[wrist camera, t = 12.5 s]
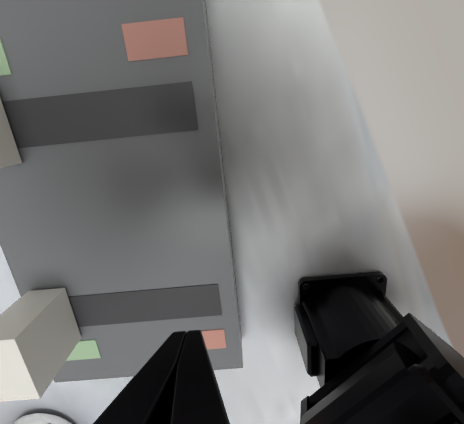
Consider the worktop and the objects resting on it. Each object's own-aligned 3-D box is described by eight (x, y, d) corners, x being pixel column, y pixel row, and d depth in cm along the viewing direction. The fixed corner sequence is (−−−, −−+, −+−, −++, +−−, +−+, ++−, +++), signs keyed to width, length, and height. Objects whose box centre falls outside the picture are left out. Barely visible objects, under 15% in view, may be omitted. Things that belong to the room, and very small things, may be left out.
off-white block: (64, 287, 18) (14, 339, 14) (81, 337, 19) (39, 398, 15) (28, 290, 18) (-33, 343, 14) (47, 340, 19) (-4, 401, 15)
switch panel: (204, -8, 16) (198, -37, 13) (241, 337, 23) (242, 368, 20) (-39, 20, 16) (-99, -2, 13) (76, 350, 24) (54, 383, 21)
